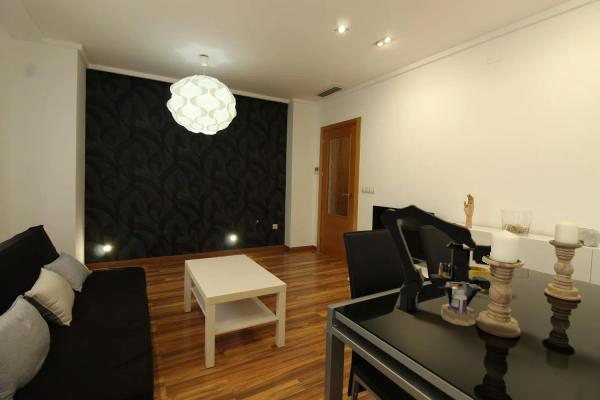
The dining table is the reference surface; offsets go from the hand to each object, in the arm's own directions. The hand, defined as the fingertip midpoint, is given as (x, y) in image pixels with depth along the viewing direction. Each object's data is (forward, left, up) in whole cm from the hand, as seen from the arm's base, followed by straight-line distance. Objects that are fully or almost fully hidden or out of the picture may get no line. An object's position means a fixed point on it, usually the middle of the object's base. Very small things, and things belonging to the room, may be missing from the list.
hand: (458, 305), depth 106 cm
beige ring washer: (0, 0, -5) cm, 5 cm away
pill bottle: (0, 0, -4) cm, 4 cm away
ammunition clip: (+26, +20, -5) cm, 33 cm away
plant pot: (+38, +15, -5) cm, 41 cm away
